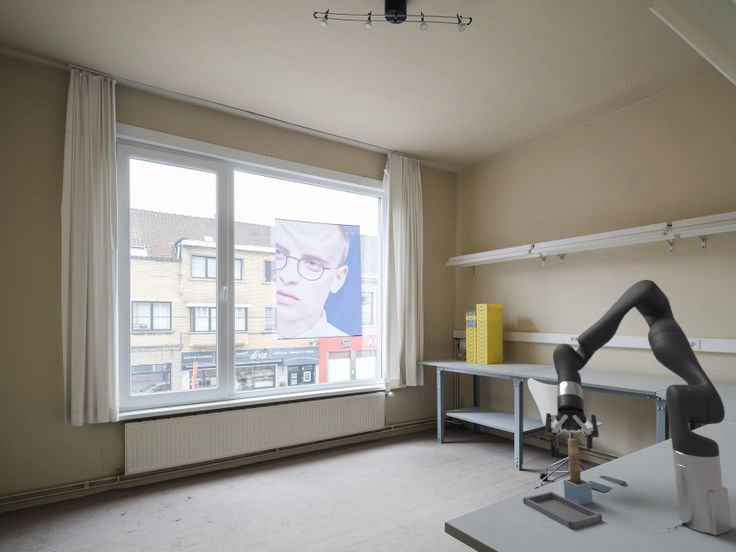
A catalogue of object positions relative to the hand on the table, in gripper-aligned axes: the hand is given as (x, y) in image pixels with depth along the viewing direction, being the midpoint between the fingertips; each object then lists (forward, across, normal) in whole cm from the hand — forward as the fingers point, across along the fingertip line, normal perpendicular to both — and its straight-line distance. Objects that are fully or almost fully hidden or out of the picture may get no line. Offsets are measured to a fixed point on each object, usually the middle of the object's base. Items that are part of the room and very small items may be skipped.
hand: (572, 448), depth 124 cm
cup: (+14, -1, -4) cm, 15 cm away
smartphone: (+3, -6, -17) cm, 19 cm away
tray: (+20, +3, +3) cm, 21 cm away
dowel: (+13, 0, -3) cm, 14 cm away
